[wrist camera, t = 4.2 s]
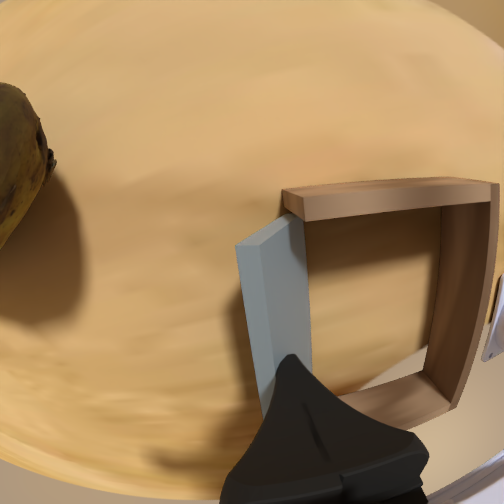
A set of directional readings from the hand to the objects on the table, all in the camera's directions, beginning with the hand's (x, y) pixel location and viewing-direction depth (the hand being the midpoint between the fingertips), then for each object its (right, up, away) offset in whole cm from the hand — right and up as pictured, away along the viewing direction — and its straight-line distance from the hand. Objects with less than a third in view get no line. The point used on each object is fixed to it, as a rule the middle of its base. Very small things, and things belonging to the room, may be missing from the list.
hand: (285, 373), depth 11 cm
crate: (+6, +2, +4) cm, 7 cm away
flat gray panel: (+1, +1, +3) cm, 4 cm away
